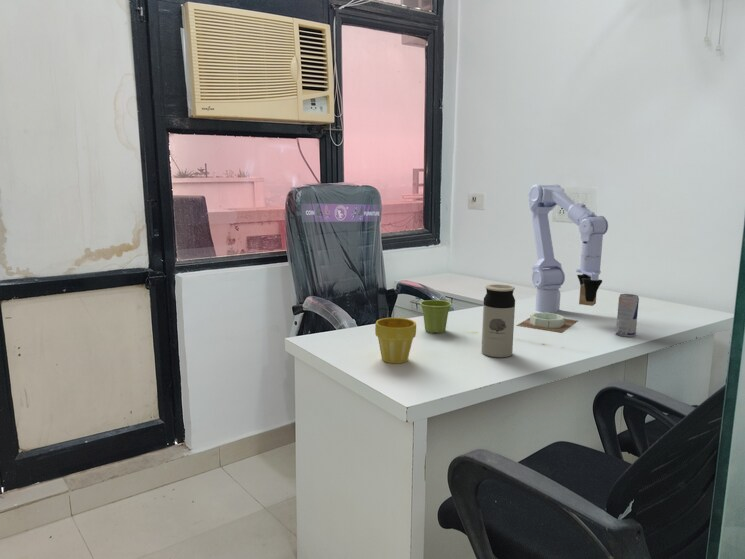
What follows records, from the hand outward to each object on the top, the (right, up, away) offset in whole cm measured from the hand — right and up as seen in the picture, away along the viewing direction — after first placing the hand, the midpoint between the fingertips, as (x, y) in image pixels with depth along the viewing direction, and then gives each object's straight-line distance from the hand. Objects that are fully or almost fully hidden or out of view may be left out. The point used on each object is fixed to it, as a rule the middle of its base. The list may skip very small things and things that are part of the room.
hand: (587, 299), depth 171 cm
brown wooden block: (0, -1, 0) cm, 1 cm away
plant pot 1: (-61, -14, -31) cm, 70 cm away
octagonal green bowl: (-12, -8, +1) cm, 15 cm away
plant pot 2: (-48, -10, -4) cm, 49 cm away
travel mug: (-34, -14, -25) cm, 45 cm away
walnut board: (-12, -9, +2) cm, 15 cm away
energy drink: (+9, -11, -7) cm, 15 cm away
